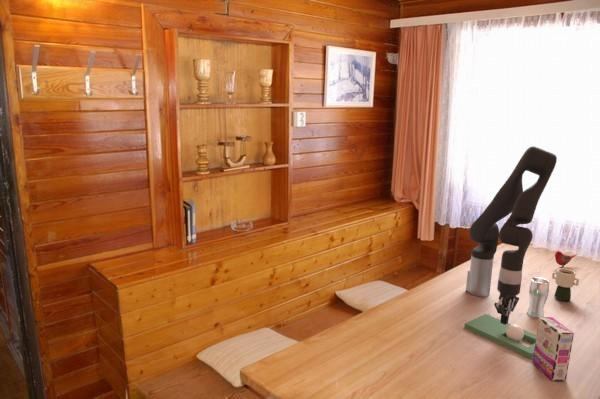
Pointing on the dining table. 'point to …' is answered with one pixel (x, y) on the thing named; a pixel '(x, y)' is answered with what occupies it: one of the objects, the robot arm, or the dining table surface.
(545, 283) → the beer glass
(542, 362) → the candy bar box
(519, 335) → the ball
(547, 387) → the dining table surface
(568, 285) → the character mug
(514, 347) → the putting mat
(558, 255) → the decorative bird figurine
